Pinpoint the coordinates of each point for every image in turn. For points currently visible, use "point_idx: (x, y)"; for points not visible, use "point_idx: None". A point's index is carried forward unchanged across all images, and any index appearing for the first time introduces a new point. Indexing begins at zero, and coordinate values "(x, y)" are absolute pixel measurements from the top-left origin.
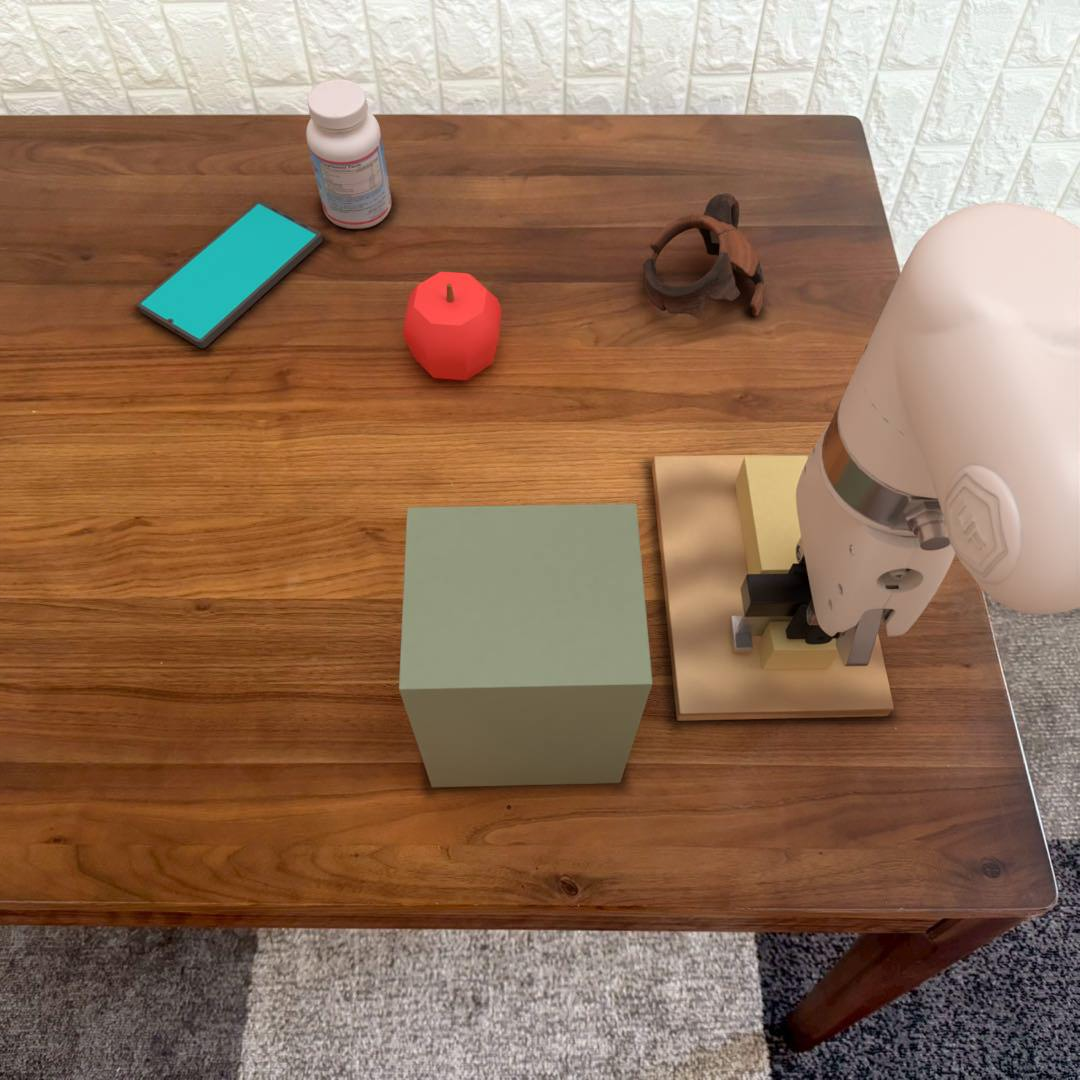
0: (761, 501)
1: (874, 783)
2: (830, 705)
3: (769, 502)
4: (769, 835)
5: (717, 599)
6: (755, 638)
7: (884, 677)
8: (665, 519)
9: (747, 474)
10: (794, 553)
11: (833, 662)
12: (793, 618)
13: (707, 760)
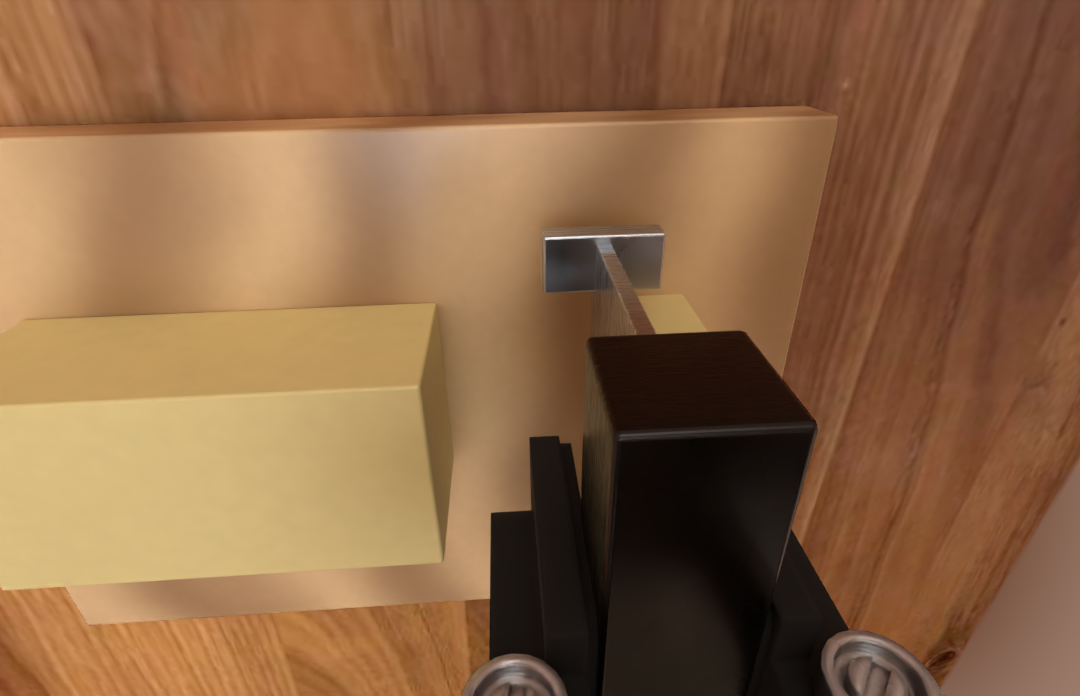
0: (178, 556)
1: (969, 175)
2: (786, 301)
3: (174, 536)
4: (986, 411)
5: (475, 520)
6: (581, 453)
7: (733, 129)
8: (270, 605)
9: (78, 584)
10: (369, 482)
11: (697, 316)
12: None
13: (809, 502)
